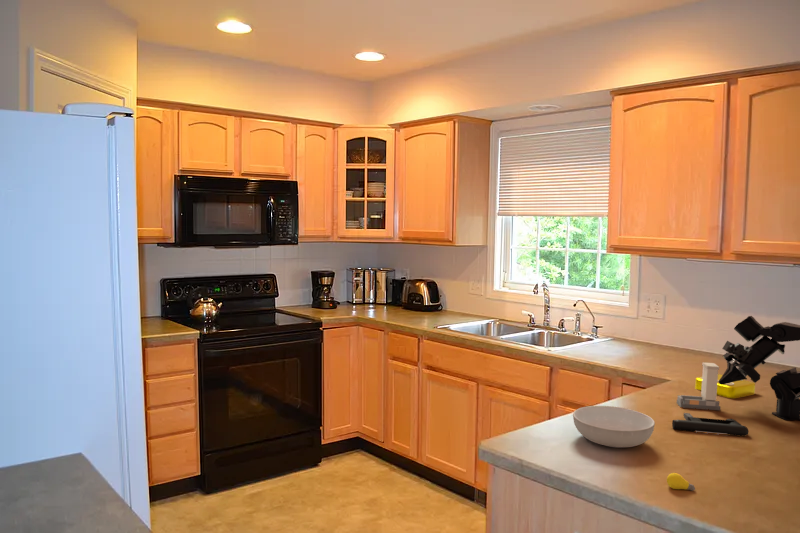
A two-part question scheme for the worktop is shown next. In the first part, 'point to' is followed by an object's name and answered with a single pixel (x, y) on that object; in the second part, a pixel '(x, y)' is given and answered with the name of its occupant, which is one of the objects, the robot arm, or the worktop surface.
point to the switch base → (697, 402)
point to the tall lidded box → (709, 381)
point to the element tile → (731, 388)
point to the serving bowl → (613, 425)
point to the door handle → (710, 425)
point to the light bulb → (679, 482)
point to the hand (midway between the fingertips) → (719, 383)
